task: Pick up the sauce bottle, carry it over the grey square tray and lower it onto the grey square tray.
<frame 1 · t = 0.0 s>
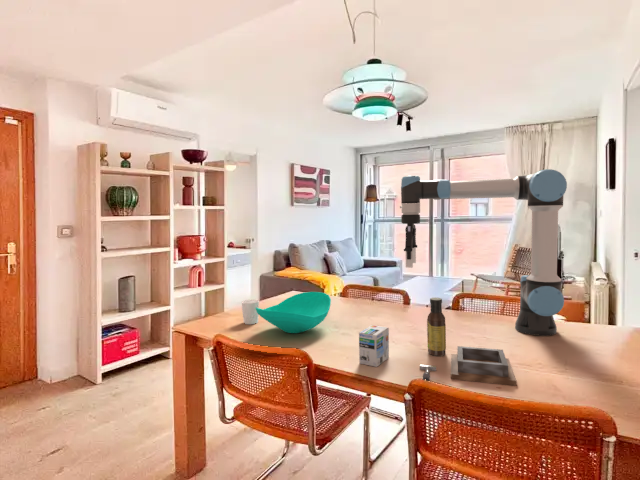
hand: (410, 265, 169), 28 cm above the table, tool pointing down, fingers open, 13 cm apart
light bulb box: (374, 361, 139), on the table
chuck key: (427, 373, 127), on the table
sauce bottle: (436, 354, 144), on the table
white cup: (251, 323, 189), on the table
grey square tray: (481, 370, 128), on the table
table top decor: (295, 331, 175), on the table
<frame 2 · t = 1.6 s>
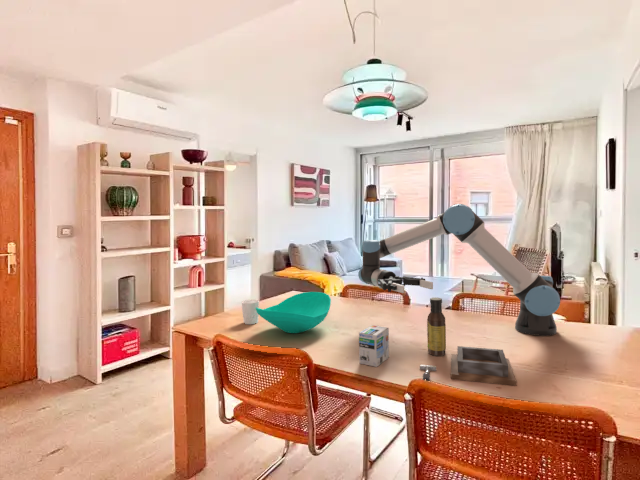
hand: (418, 287, 151), 22 cm above the table, tool horizontal, fingers open, 13 cm apart
nothing on the table moved.
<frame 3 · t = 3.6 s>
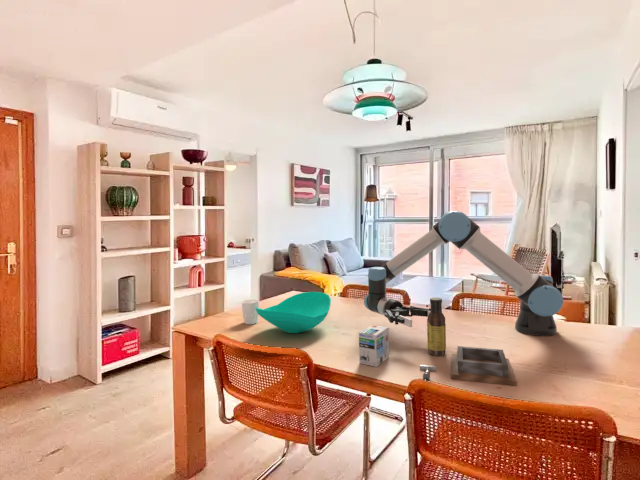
hand: (426, 320, 147), 11 cm above the table, tool horizontal, fingers open, 13 cm apart
nothing on the table moved.
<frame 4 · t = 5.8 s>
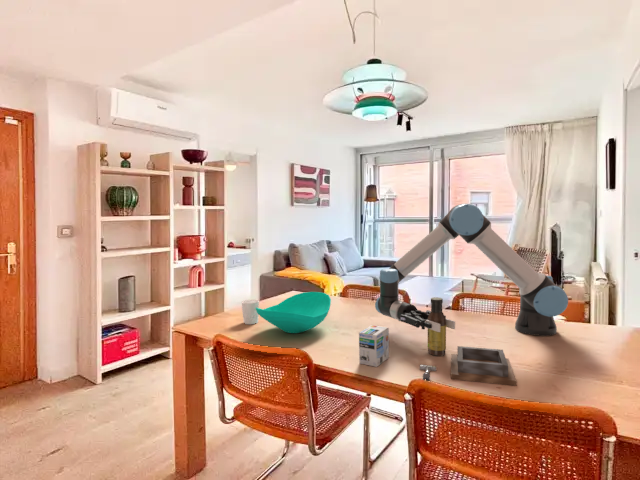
hand: (447, 326, 138), 11 cm above the table, tool horizontal, fingers closed on sauce bottle, 6 cm apart
sauce bottle: (436, 354, 144), on the table, touching gripper
everything else where it was.
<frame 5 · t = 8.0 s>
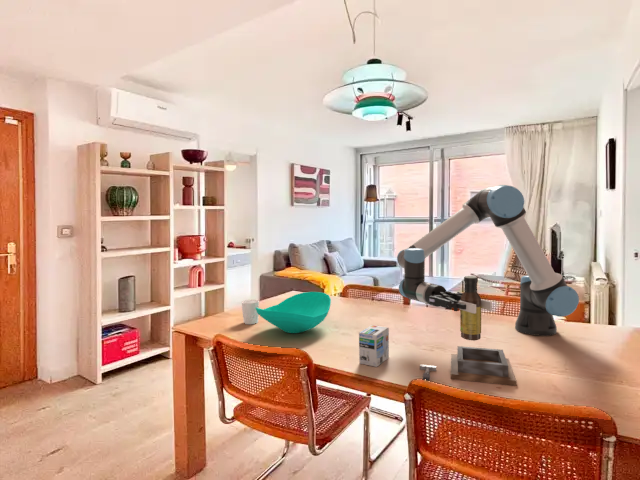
hand: (483, 307, 125), 21 cm above the table, tool horizontal, fingers closed on sauce bottle, 6 cm apart
sauce bottle: (470, 338, 130), point 10 cm above the table, touching gripper
everything else where it was.
when the fingers open (14 cm above the table, at t = 10.1 s): sauce bottle drops 2 cm, resting on grey square tray.
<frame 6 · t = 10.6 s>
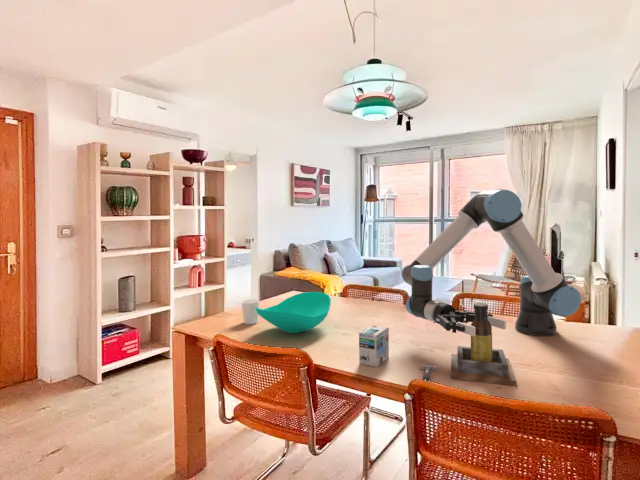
hand: (490, 328, 124), 14 cm above the table, tool horizontal, fingers open, 13 cm apart
sauce bottle: (481, 366, 128), point 1 cm above the table, touching grey square tray
everything else where it was.
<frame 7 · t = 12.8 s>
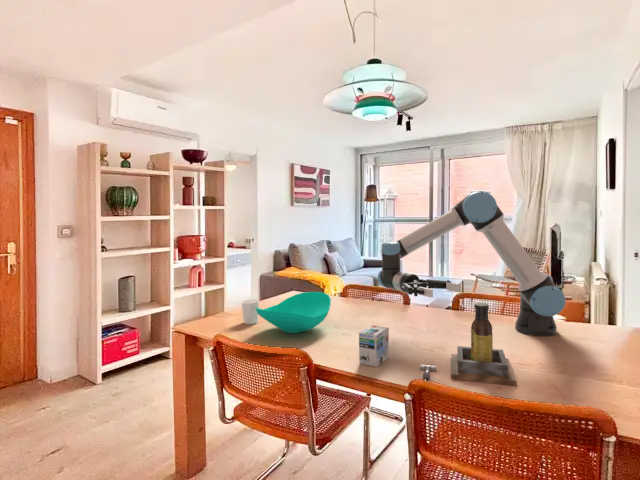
hand: (446, 290, 142), 22 cm above the table, tool horizontal, fingers open, 13 cm apart
nothing on the table moved.
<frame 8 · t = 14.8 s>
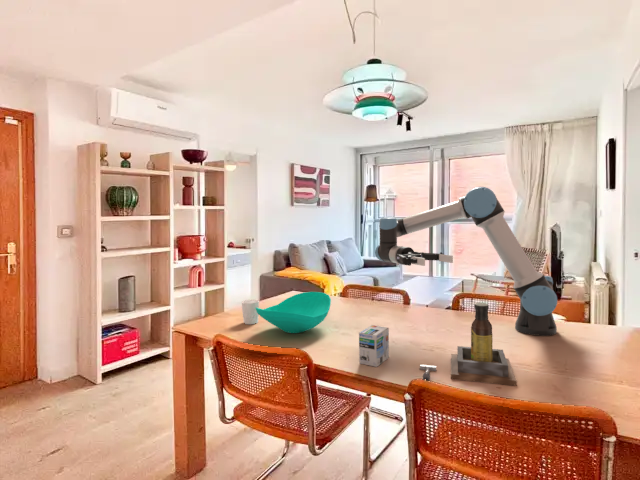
hand: (438, 260, 151), 32 cm above the table, tool horizontal, fingers open, 13 cm apart
nothing on the table moved.
at the end: sauce bottle 0.2 cm from the grey square tray (horizontally); sauce bottle tilted 0°; the gripper is holding nothing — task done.
